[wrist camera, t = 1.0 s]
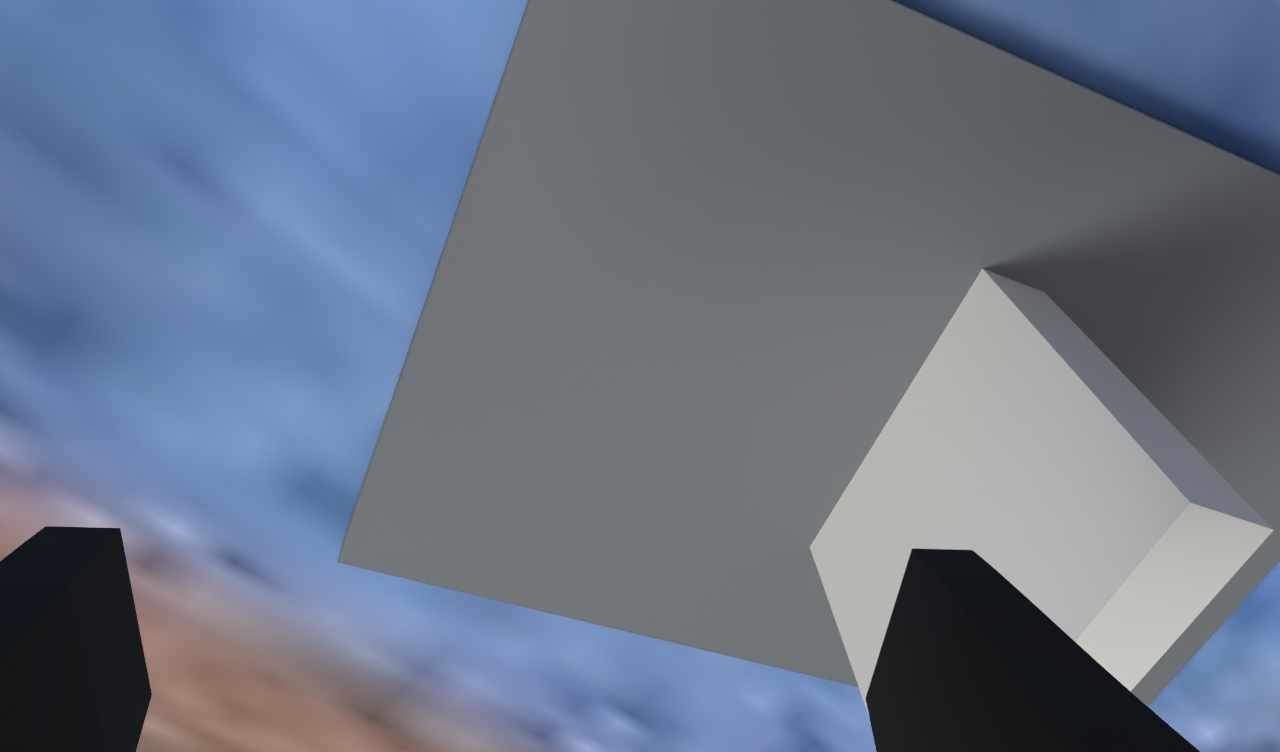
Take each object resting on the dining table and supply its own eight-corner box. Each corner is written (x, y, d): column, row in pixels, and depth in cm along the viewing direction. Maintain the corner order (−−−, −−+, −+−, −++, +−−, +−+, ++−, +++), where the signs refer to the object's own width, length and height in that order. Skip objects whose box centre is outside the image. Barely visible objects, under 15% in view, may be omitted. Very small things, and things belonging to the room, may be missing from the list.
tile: (1050, 294, 19) (1282, 532, 13) (871, 564, 22) (993, 855, 16) (982, 268, 19) (1189, 501, 13) (809, 546, 22) (911, 839, 16)
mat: (1506, 277, 21) (1527, 287, 20) (1101, 731, 27) (1110, 747, 26) (577, -143, 15) (578, -141, 15) (341, 546, 22) (337, 562, 21)
